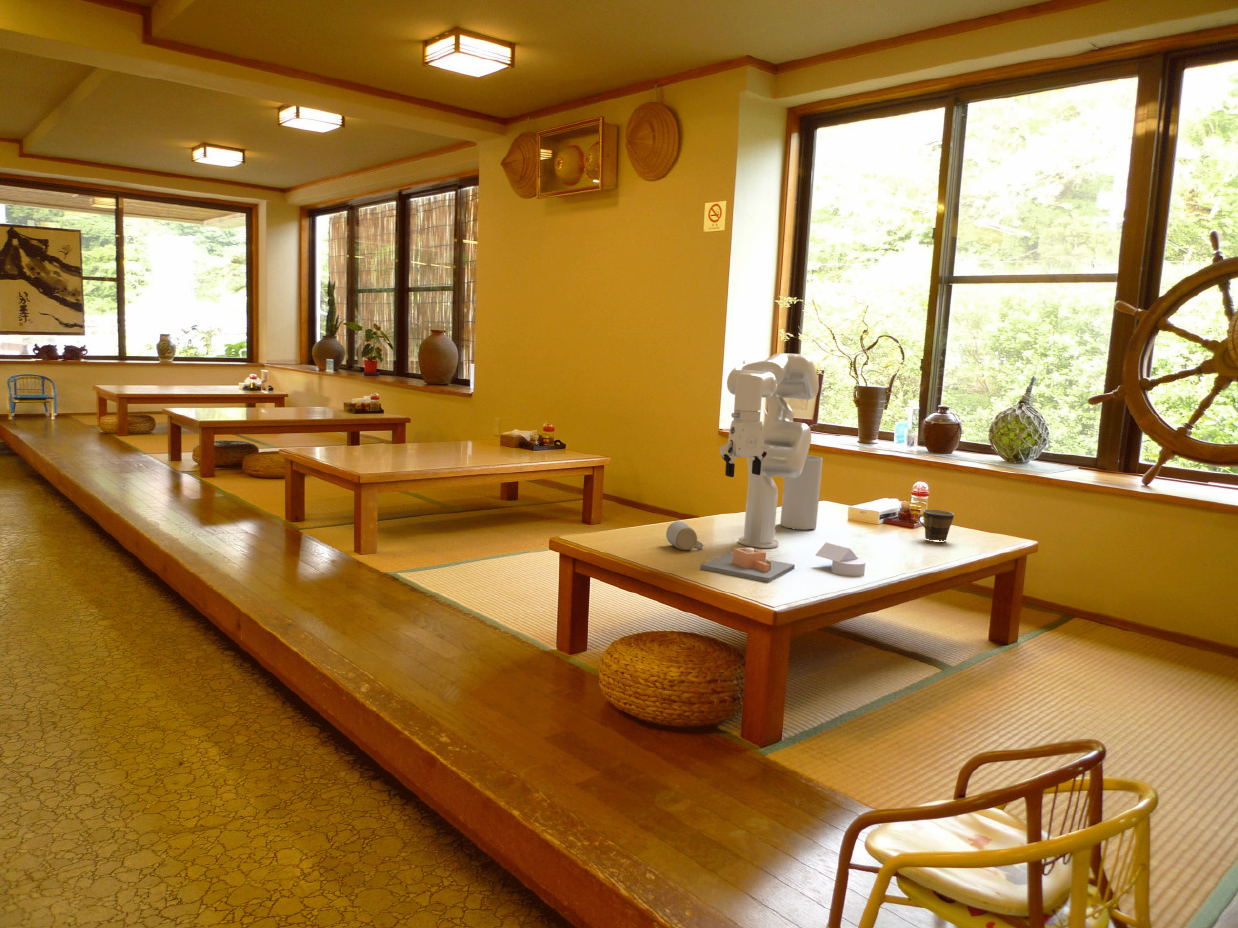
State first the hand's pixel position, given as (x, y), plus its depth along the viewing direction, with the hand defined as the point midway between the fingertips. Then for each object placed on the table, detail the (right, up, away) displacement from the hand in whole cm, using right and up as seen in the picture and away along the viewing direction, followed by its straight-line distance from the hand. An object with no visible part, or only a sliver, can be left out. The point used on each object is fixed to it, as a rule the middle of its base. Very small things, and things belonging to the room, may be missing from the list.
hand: (742, 475), depth 253 cm
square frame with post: (+2, -25, -10) cm, 27 cm away
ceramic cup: (+72, -23, +48) cm, 90 cm away
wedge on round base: (+28, -27, -2) cm, 39 cm away
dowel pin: (+5, -26, -13) cm, 29 cm away
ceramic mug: (-16, -22, +13) cm, 30 cm away
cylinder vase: (+28, -19, +58) cm, 67 cm away
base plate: (0, -26, -8) cm, 27 cm away
